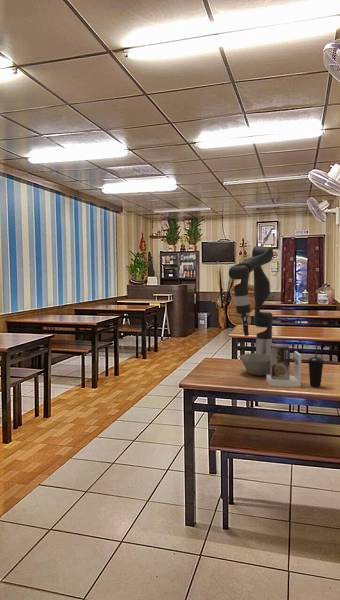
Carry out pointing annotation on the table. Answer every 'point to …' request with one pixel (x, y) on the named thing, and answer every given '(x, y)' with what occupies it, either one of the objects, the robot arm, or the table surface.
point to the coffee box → (280, 362)
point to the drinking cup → (315, 370)
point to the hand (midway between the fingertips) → (246, 333)
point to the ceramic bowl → (256, 363)
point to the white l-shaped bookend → (294, 380)
